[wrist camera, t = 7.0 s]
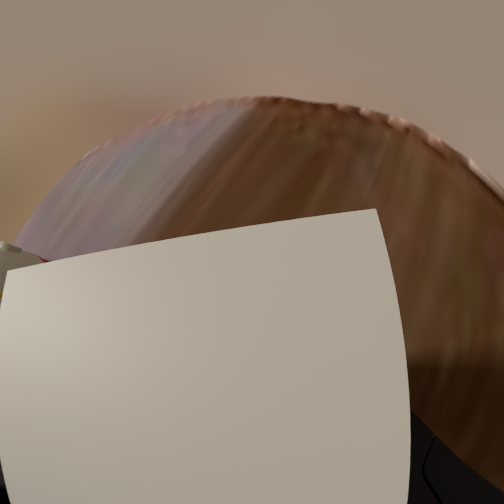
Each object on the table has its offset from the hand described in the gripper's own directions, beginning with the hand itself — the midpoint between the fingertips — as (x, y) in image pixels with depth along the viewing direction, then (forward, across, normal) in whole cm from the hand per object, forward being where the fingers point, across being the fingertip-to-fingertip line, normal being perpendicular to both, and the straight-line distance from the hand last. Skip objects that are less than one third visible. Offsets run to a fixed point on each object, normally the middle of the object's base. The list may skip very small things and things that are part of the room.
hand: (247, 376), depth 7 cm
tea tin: (+4, 0, +6) cm, 7 cm away
